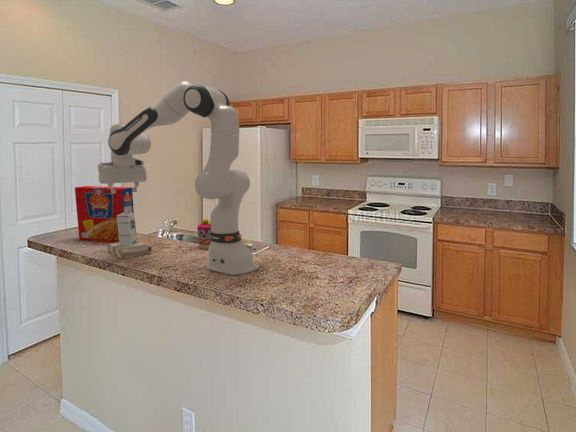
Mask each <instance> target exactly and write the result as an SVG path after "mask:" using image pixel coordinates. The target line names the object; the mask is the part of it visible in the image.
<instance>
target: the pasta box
mask: <svg viewBox="0 0 576 432" xmlns="http://www.w3.org/2000/svg"><path fill="white" fill-rule="evenodd" d="M112 187H113V189H115V190H116V194H111V189H110V188H109V187H108V186H103V185H101V186H95V185H85V186H74V195H75V205H76V217H77V228H78V240H79V241H81V242H91V243H92V242H93V243H94V242H95V243H107V244H109V243H116V242H119V233H118V222H117V215H119V214H122V213H134V214H135V211H134V197H133V196H134V195H133V192H132V188H133V187H129V186H128V187H126V186H112Z"/></svg>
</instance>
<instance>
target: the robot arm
mask: <svg viewBox="0 0 576 432" xmlns="http://www.w3.org/2000/svg"><path fill="white" fill-rule="evenodd" d="M189 112H191V113H193V114H195V115H198V116H200V117H202V118H208V120H209V122H210V146H209V147H210V148H209V155H208V159H207V162H206V165H205V166H204V168H203V170H202V171H201V172H200V173H199V174H198V175H197V177H196V178H195V183H194V188H195V192H196V193H197V195H198V196H199V197H201V198H203V199H208V200H209V199H210V200H216V199H218V201H217V203H216V205H215V207H214V208H212V210H211V212H210V220H211V231H210V240H211V244H210V247H209V249H207V251H208V252H207V264H206V265H205V269H206V270H210V271H213V272H218V273H221V274H222V273H223V274H226V275H230V276H237V275H244V274H248V273H251V272H254V271H256V270H258V269H260V266H259V264H256V262H254V257H253V254H252V252H251V250H250V249H249V248H248V247H247V246H246V245H245V243H243V241H242V237H243V234H241V233H240V230H239V212H240V206H241V204H242V200H243V198H244V196H245V195H246V193H247V192H248V191H249V189H250V186H251V179H250V177H249V175H248V174H247V173H246V172H244V171H242V170H238V169H230V168H231V166H232V164H233V162H234V161H235V160H236V159H237V158H238V157H239V152H240V151H239V150H240V121H239V119H240V118H239V114H238V111H237V110H236V109H235V108H234V107H232V106H230V99H229V97H228V95H227V94H226V93H225V92H223V91H222V90H219V89H216V88H213V87H211V86H207V85H201V84H193V83H192V82H190V81H187V80H182V81H180V82H178V83H177V84H176V85H174V86H172V87H171V88H170V89H169V90H168V91H167V92H166V93H165V94H164V95H163V96H161V98H159V99H158V100H157V101H156V102H154V103H153V104H152V105H151V106H149V107H147V108H146V109H144V110H142V111H141V112H140V113H138V114H137V115H135V117H133V118H132V119H131V120H130V121H128V122H127V123H117V124H113V125H111V126H110V129H109V137H108V140H107V141H108V143H107V145H108V147H109V149H110V150H111V151H110V161H105V162H104V161H103V162H100V163H99V164H97V170H98V182H99V183H100V184H102V185H106V184H107V187H109V188H110V189H111V194H116V190H115V189H113V187H114V184H124V183H133V184H134V187H132V193H137V192H138V187H139V185H140V183H142V182H144V183H145V182H146V181H147V170H146V168H145V167H144V165H145V161H144V160H141V159H138V158H135V157H134V156H133V155H143V154H146V153H148V152H149V151H150V149H151V144H152V143H151V139H150V137H149V136H148V134H146V133H145V132H146V131H147V130H149V129H151V128H154V127H160V126H161V127H162V126H169V125H175V124H176V123H178V122H180V121H181V120H182V119H183V118H184V117H185V116H186V115H188V114H189Z"/></svg>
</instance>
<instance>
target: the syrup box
mask: <svg viewBox="0 0 576 432" xmlns="http://www.w3.org/2000/svg"><path fill="white" fill-rule="evenodd" d="M135 216H136V215H135V212H134V213H122V214H119V215H117V222H118V233H119V244H120V246H132V245H134V244H136V243H137V241H138V239H137V227H136V226H137V225H136V217H135Z"/></svg>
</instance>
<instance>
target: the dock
mask: <svg viewBox="0 0 576 432" xmlns="http://www.w3.org/2000/svg"><path fill="white" fill-rule="evenodd" d="M107 251H108V253H109V254H111V255H114V256H116V257H118V258H120V259H122V260H124V259H129V258H135V257H139V256H146V255H150V252H152V247H151V246H149V244H145V243H143V242H140V241H138V240H137V243H136V244H134V245H132V246H120V244H119V242H116V243H107Z"/></svg>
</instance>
